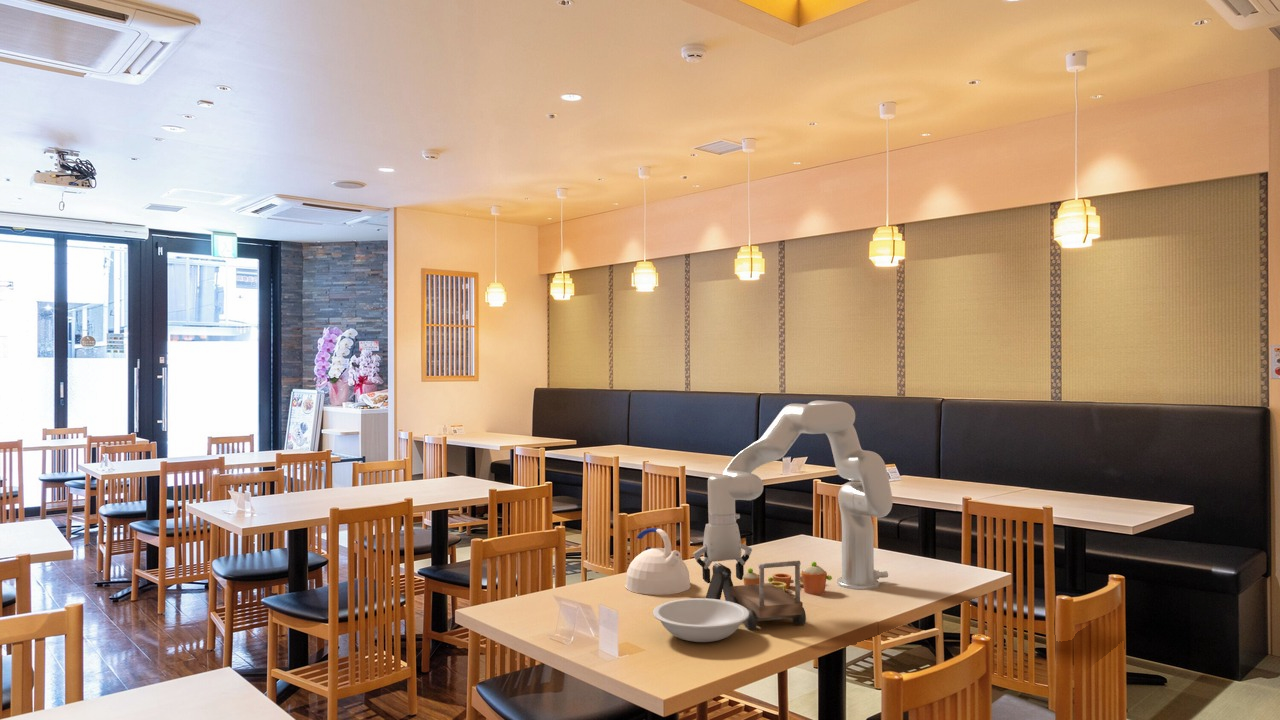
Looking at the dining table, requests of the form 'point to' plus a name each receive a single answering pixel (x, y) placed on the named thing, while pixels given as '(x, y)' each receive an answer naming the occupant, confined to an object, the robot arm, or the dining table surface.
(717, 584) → the phone stand
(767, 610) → the trolley
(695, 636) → the soup bowl
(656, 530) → the kettle
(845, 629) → the dining table surface
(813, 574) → the toy tea set
